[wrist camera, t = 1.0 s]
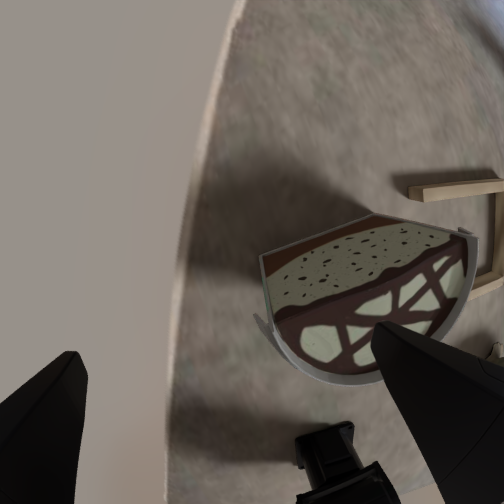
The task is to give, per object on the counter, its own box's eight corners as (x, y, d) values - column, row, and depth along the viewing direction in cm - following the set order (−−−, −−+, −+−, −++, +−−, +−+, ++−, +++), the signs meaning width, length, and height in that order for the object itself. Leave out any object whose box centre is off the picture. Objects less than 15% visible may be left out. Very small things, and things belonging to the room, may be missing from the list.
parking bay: (495, 277, 25) (507, 283, 23) (407, 310, 24) (419, 320, 22) (499, 178, 22) (513, 180, 20) (408, 186, 21) (423, 189, 19)
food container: (264, 333, 23) (296, 427, 13) (237, 262, 21) (259, 337, 12) (401, 276, 23) (482, 329, 14) (389, 206, 22) (484, 234, 12)
